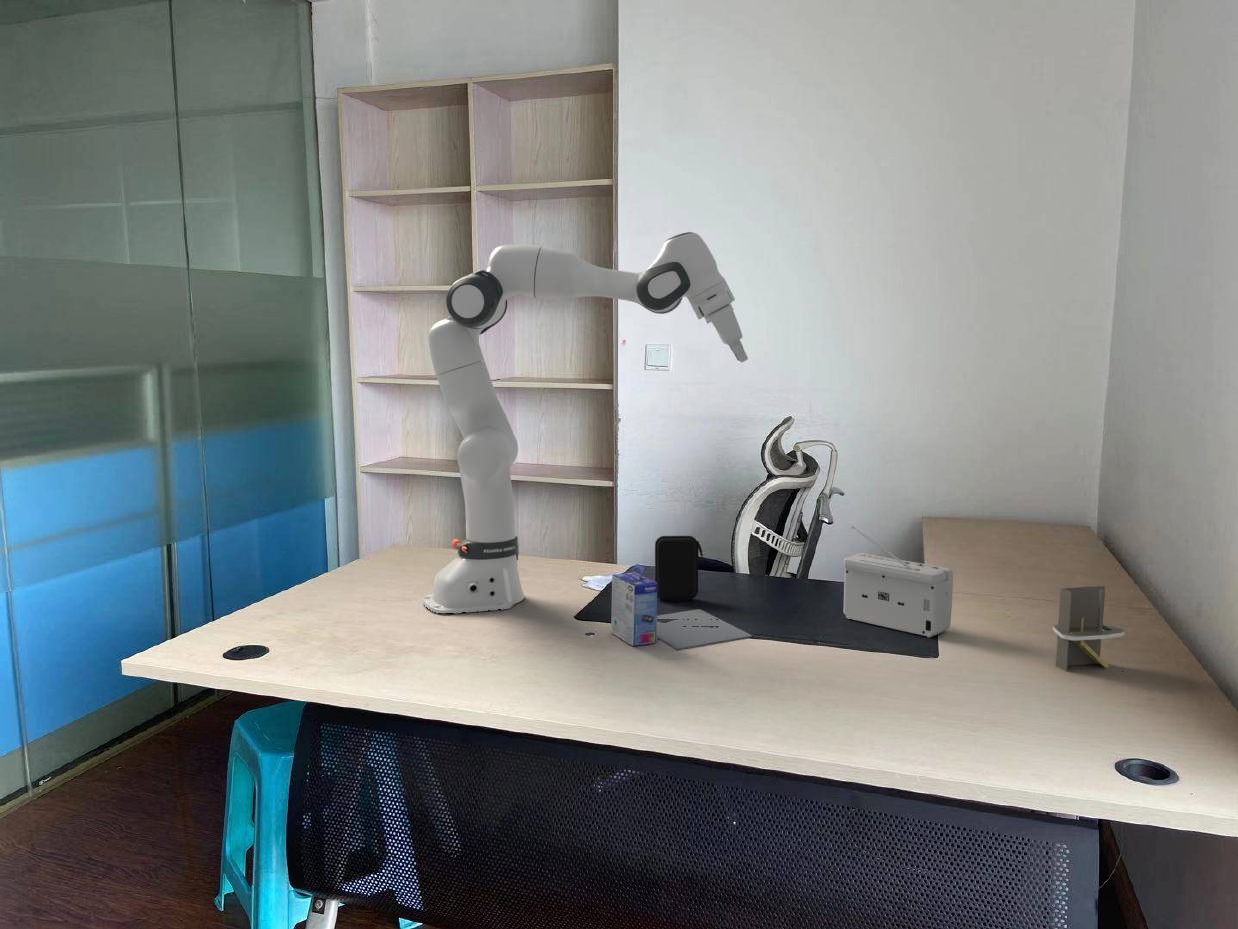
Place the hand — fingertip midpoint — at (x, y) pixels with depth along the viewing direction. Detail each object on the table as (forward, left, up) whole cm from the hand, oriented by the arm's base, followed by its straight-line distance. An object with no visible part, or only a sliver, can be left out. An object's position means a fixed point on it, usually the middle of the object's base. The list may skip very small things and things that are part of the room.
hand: (743, 360), depth 201 cm
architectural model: (+32, -62, -54) cm, 88 cm away
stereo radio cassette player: (+19, -28, -54) cm, 64 cm away
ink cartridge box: (-32, -11, -54) cm, 64 cm away
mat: (-20, -11, -54) cm, 58 cm away
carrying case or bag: (-11, +8, -54) cm, 55 cm away
